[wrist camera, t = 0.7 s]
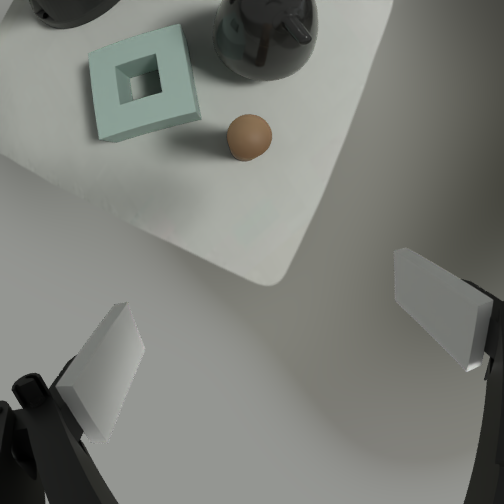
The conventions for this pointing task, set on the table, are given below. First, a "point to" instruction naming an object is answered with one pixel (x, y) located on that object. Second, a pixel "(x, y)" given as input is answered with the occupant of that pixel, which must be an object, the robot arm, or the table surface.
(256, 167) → the table surface
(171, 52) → the socket block
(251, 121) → the peg
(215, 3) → the table surface
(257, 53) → the pump dispenser
